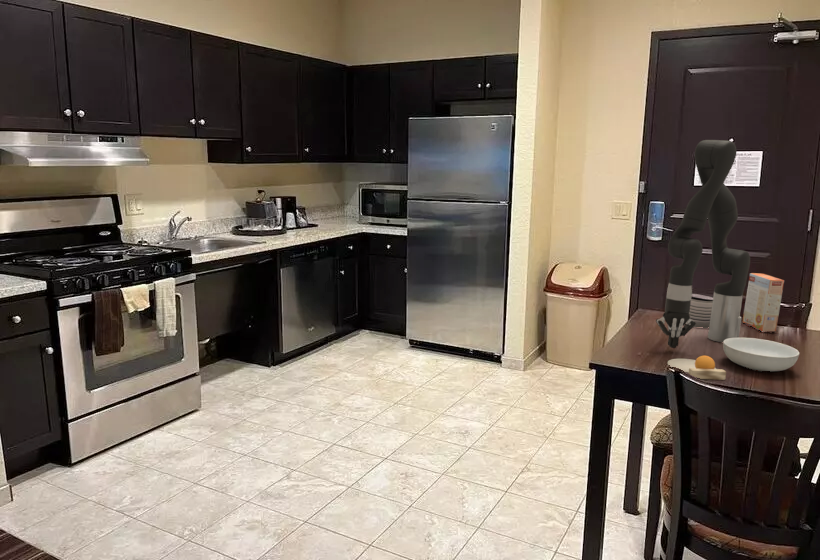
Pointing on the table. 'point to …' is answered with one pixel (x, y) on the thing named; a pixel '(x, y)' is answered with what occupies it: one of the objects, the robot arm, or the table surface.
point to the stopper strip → (708, 373)
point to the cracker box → (763, 301)
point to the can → (701, 310)
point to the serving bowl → (760, 354)
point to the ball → (704, 363)
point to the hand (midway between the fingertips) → (672, 347)
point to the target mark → (682, 364)
